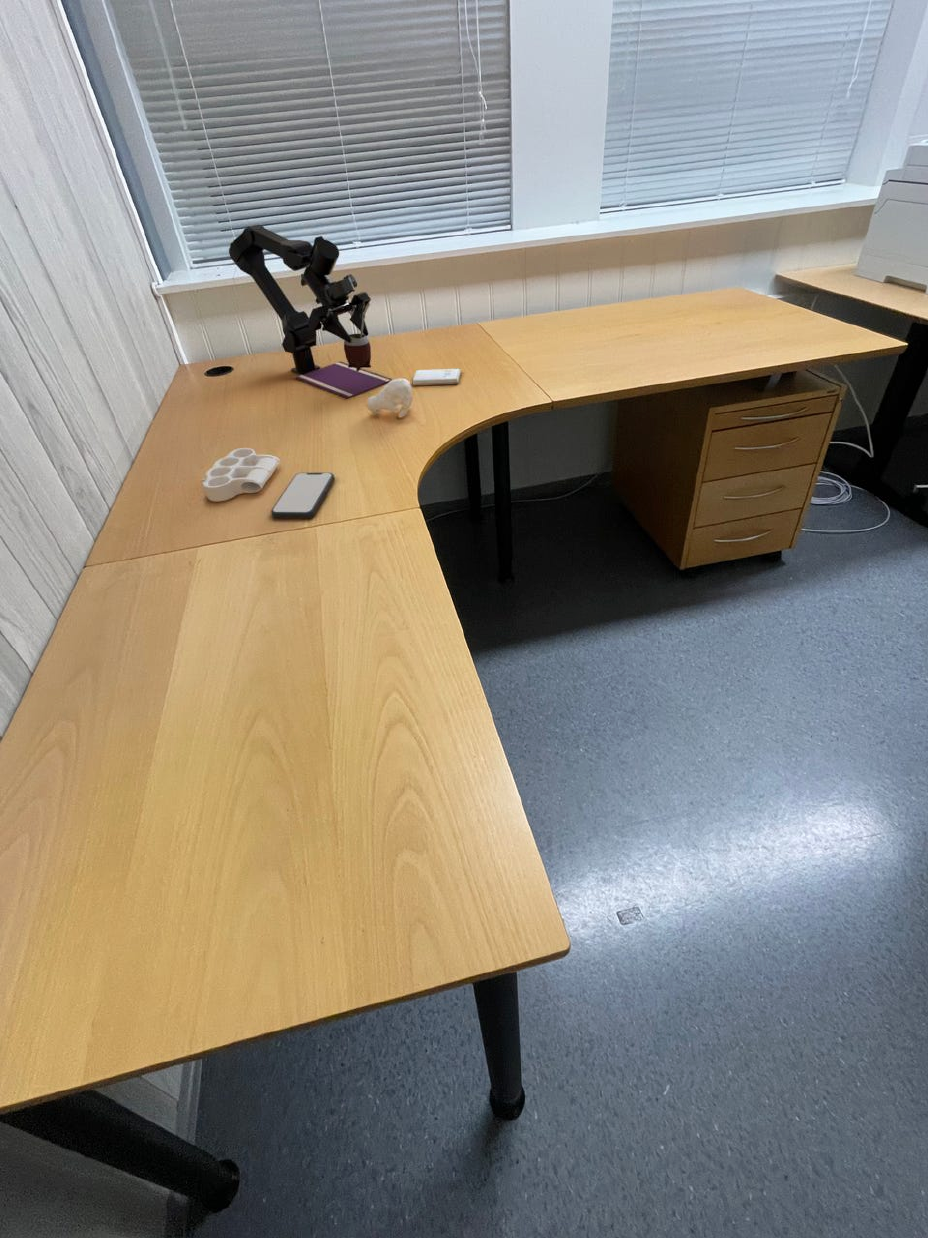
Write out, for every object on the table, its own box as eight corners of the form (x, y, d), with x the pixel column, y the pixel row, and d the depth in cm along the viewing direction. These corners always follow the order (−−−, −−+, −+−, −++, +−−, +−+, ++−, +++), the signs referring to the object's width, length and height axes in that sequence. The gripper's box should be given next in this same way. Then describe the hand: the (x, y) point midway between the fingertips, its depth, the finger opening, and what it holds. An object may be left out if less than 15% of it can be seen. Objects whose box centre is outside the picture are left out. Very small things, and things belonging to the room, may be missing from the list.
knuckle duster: (257, 501, 124) (191, 501, 126) (286, 460, 137) (226, 461, 139) (252, 487, 121) (185, 487, 123) (282, 446, 135) (221, 447, 137)
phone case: (313, 520, 117) (337, 478, 129) (311, 513, 116) (335, 471, 127) (270, 519, 118) (298, 478, 130) (268, 512, 117) (296, 471, 129)
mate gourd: (344, 371, 163) (336, 311, 153) (349, 361, 169) (342, 303, 159) (372, 371, 163) (365, 310, 153) (376, 361, 169) (370, 303, 159)
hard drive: (417, 375, 172) (460, 373, 171) (413, 385, 166) (457, 384, 165) (416, 369, 171) (460, 367, 170) (412, 380, 165) (457, 378, 164)
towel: (296, 378, 177) (295, 376, 177) (340, 362, 185) (340, 361, 185) (347, 398, 163) (346, 397, 162) (392, 380, 170) (392, 378, 170)
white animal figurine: (405, 383, 144) (358, 389, 146) (413, 417, 149) (367, 422, 152) (410, 373, 148) (364, 379, 151) (418, 407, 154) (373, 412, 156)
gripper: (303, 273, 146) (342, 328, 148) (359, 257, 157) (395, 308, 158) (292, 304, 156) (328, 356, 158) (345, 287, 166) (379, 335, 168)
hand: (359, 338), depth 160 cm, fingers closed on mate gourd, 6 cm apart
